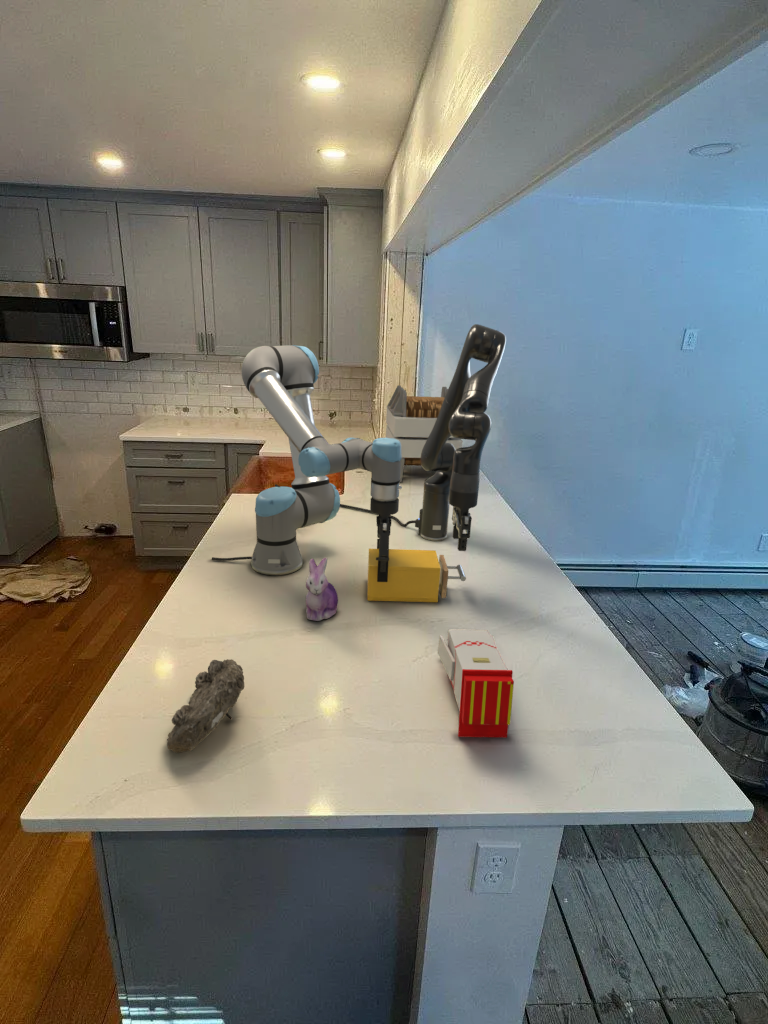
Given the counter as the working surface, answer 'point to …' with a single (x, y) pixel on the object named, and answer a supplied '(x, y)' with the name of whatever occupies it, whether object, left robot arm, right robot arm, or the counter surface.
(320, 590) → the figurine
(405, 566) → the cabinet
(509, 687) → the toy
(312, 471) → the left robot arm
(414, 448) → the grey crate
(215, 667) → the fossil
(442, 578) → the drawer
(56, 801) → the counter surface
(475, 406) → the right robot arm
